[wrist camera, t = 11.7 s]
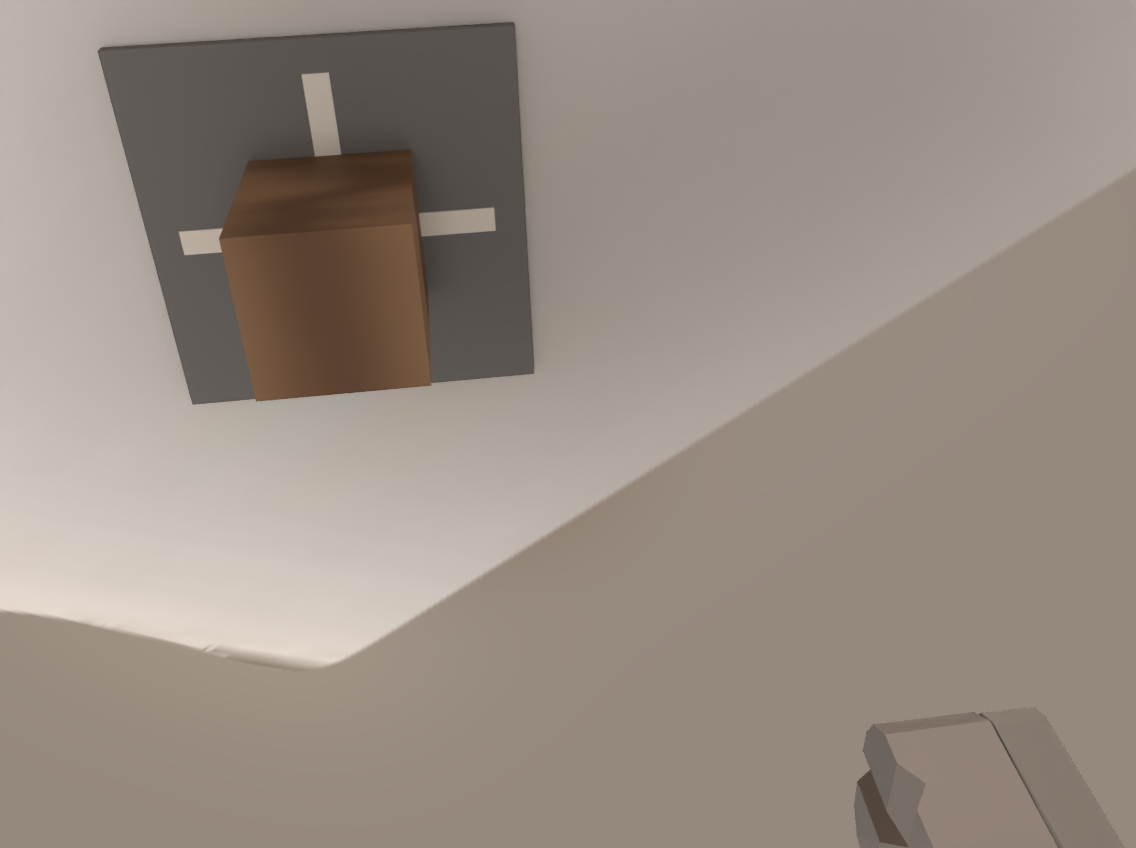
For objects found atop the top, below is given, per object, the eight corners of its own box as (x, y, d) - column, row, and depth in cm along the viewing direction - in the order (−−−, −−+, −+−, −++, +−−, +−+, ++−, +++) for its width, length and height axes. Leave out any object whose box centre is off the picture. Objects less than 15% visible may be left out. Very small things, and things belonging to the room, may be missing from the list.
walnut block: (411, 149, 33) (411, 223, 28) (428, 294, 36) (431, 385, 31) (247, 161, 32) (218, 238, 27) (277, 307, 35) (256, 401, 30)
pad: (513, 22, 32) (514, 26, 31) (532, 368, 38) (534, 374, 38) (101, 47, 31) (97, 51, 30) (194, 398, 37) (192, 405, 37)
